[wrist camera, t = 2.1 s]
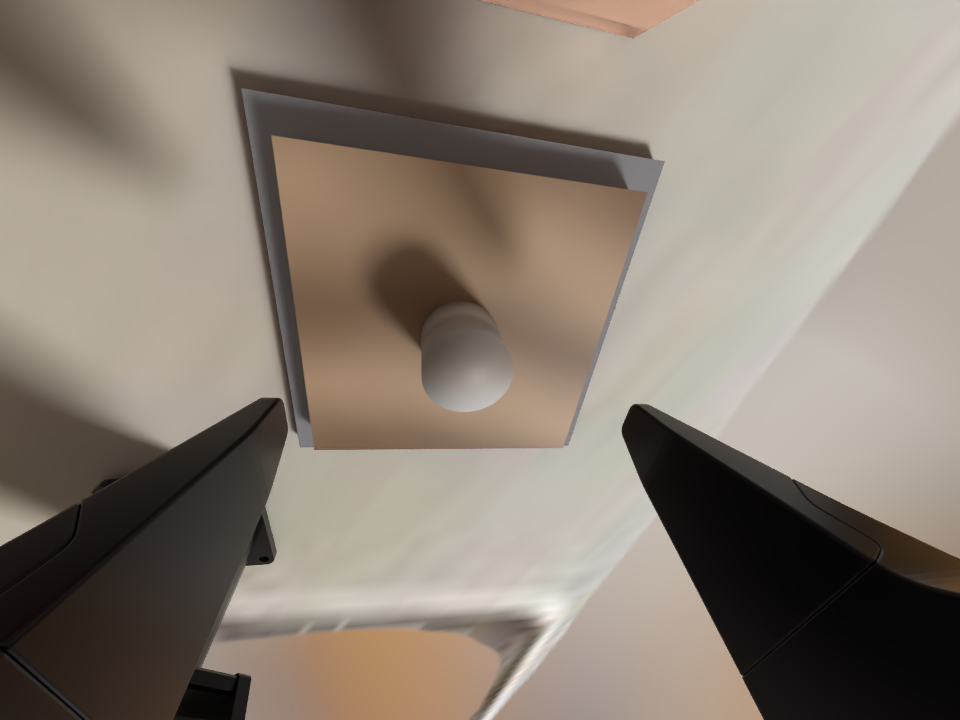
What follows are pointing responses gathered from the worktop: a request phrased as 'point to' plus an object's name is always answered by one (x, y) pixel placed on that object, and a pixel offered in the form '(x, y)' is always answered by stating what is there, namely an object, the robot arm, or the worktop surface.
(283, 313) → the rubber mat
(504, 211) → the walnut lid
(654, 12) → the terracotta dish
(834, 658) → the robot arm
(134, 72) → the worktop surface
